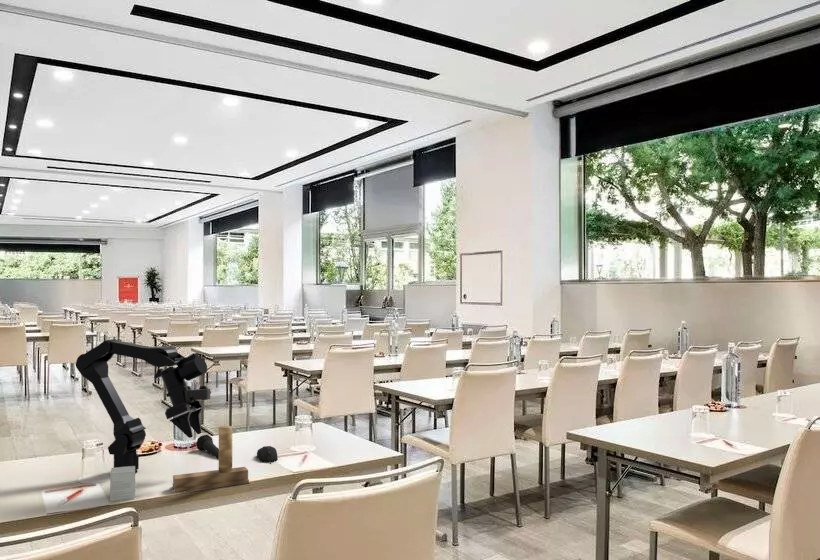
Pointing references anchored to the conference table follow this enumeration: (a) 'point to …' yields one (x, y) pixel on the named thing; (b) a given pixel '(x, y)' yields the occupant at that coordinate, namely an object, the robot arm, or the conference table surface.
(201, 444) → the microphone
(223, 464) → the dowel
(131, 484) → the product box
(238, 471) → the ridge
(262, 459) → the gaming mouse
